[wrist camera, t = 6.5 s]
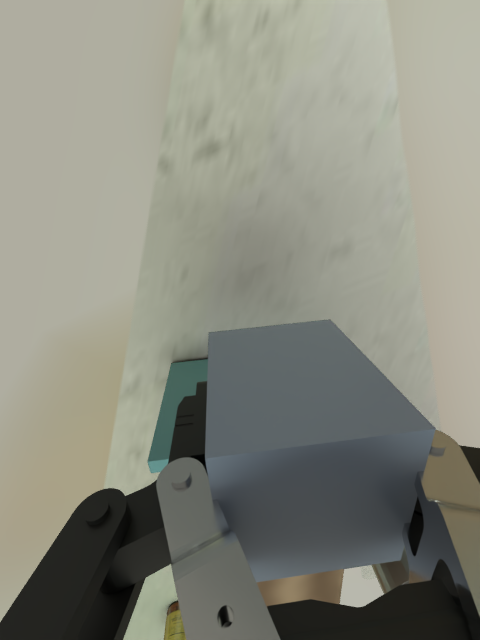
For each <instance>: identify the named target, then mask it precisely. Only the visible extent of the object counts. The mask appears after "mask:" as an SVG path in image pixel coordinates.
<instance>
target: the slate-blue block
mask: <svg viewBox="0 0 480 640" xmlns="http://www.w3.org/2000/svg"><path fill="white" fill-rule="evenodd" d="M435 429H436V428H435V427H434V426H433V425H432V424H431V423H430V422H429V421H428V420H427V419H426V418H425V417H424V416H423V415H422V414H421V413H420V412H419V411H418V410H417V409H416V408H415V407H414V406H413V405H412V404H411V403H410V402H409V400H408V399H407V398H406V397H405V396H404V395H403V394H402V393H401V392H400V391H399V390H398V389H397V388H396V387H395V386H394V385H393V384H392V383H391V382H390V381H389V380H388V379H387V378H386V377H385V376H384V375H383V374H382V372H381V371H380V370H379V369H378V368H377V367H376V366H375V365H374V364H373V363H372V362H371V361H370V360H369V359H368V358H367V357H366V356H365V355H364V354H363V353H362V352H361V351H360V350H359V349H358V348H357V347H356V346H355V344H354V343H353V342H352V341H351V340H350V339H349V338H348V337H347V336H346V335H345V334H344V333H343V332H342V331H341V330H340V329H339V328H338V327H337V326H336V325H335V324H334V323H333V322H332V321H331V320H321V321H311V322H302V323H293V324H284V325H274V326H265V327H256V328H246V329H237V330H228V331H218V332H209V342H208V374H207V407H206V440H205V462H206V468H207V473H208V479H209V484H210V490H211V496H212V500H215V499H217V500H218V502H219V505H220V507H221V510H222V512H223V515H224V517H225V519H226V522H227V524H228V526H229V528H230V530H233V531H234V533H235V534H236V536H237V538H238V541H239V543H240V545H241V548H242V550H243V552H244V555H245V557H246V559H247V562H248V564H249V566H250V569H251V571H252V573H253V576H254V578H255V581H256V582H262V581H268V580H275V579H281V578H288V577H295V576H301V575H308V574H314V573H321V572H327V571H334V570H340V569H347V568H353V567H360V566H367V565H373V564H380V563H386V562H393V561H399V560H401V557H402V553H403V549H404V546H405V545H404V541H403V536H402V531H403V527H404V523H410V522H411V519H412V516H413V512H414V508H415V504H416V501H417V497H418V495H417V492H416V489H415V485H414V484H415V480H416V476H417V472H418V471H425V467H426V463H427V459H428V456H429V452H430V448H431V444H432V441H433V437H434V433H435Z"/></svg>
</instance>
